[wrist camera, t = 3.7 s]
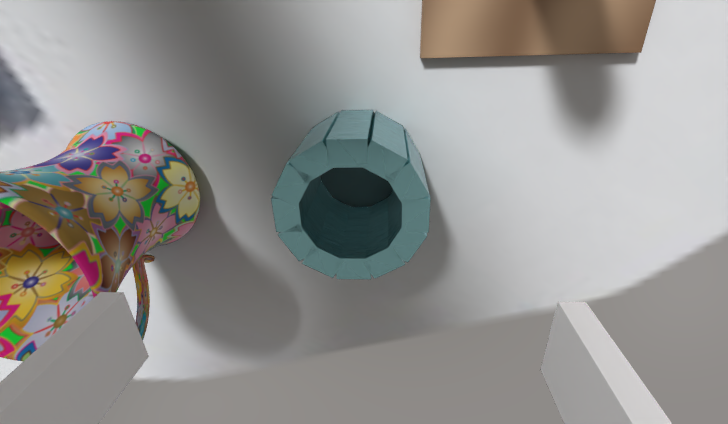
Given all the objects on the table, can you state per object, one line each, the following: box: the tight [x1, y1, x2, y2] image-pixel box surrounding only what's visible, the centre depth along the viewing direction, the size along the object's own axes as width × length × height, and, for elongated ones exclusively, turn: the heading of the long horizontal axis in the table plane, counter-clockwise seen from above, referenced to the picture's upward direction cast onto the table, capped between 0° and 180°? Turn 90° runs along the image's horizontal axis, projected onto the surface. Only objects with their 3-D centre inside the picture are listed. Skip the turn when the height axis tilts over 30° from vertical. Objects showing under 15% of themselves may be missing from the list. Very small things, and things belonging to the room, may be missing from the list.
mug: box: [0, 121, 200, 361], centre depth 20 cm, size 12×9×11 cm
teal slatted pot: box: [271, 110, 430, 279], centre depth 20 cm, size 8×8×6 cm
